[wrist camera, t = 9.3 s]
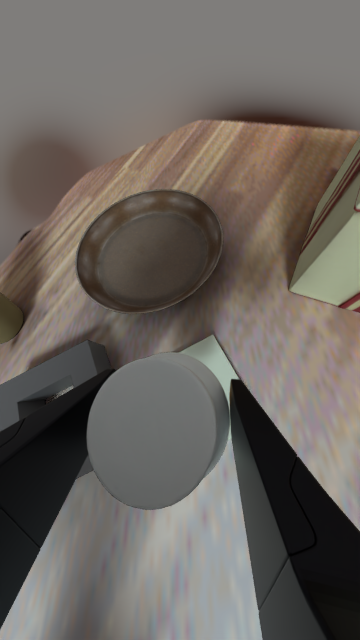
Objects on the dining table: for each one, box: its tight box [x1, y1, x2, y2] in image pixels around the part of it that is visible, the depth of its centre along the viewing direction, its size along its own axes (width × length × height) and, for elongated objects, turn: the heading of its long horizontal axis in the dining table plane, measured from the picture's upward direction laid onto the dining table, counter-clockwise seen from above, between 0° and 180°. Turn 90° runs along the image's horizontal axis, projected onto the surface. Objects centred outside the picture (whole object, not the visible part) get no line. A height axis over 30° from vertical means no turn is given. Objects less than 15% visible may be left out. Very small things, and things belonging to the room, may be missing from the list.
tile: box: [179, 335, 239, 440], centre depth 20 cm, size 10×10×1 cm
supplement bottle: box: [86, 352, 230, 510], centre depth 10 cm, size 5×5×10 cm
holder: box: [0, 340, 111, 479], centre depth 20 cm, size 12×12×4 cm
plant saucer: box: [75, 189, 223, 314], centre depth 27 cm, size 21×21×3 cm
